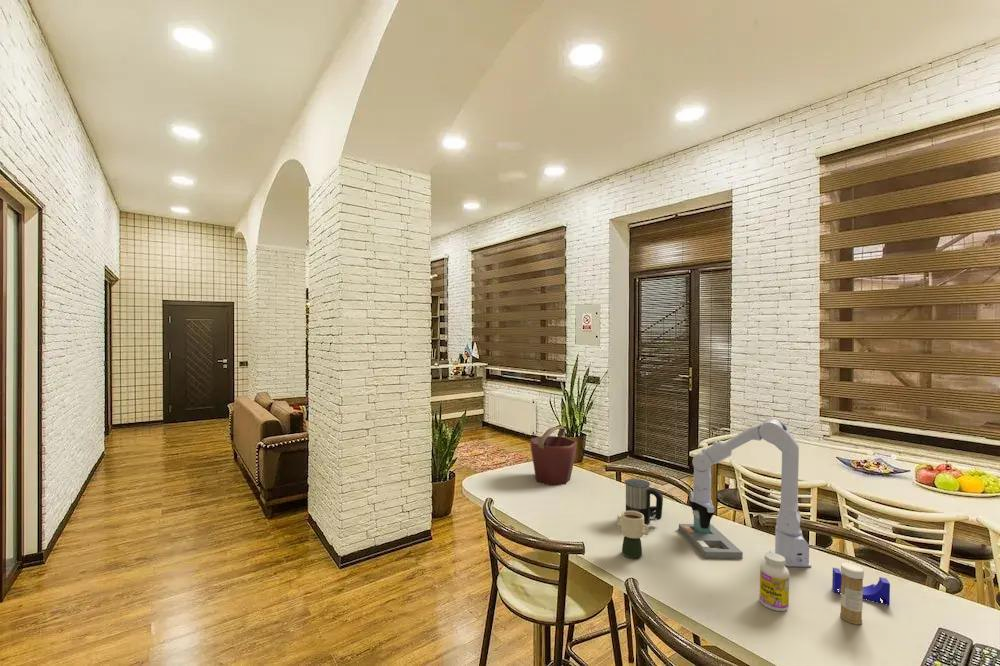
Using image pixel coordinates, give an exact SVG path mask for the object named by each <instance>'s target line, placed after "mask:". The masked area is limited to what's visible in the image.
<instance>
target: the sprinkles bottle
mask: <svg viewBox="0 0 1000 666" xmlns="http://www.w3.org/2000/svg"><path fill="white" fill-rule="evenodd" d="M840 571H841V574H842V584H841V595H840V615H839V616H840V618H841V619H843V620H844V621H845V622H848V623H849V624H852V623H853V625H861V624H863V619H862V618H863V616H862V615H863V614H862V613H863V605H864V604H863V601H864V600H863V587H864V586H863V585H864V584H863V583H864V582H863V581H864V578H865V572H864V571H865V570H864V569H863V568H862V567H861V566H859V565H857V564H854V563H849V562H842V563H841V564H840Z"/></svg>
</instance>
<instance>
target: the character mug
mask: <svg viewBox="0 0 1000 666" xmlns="http://www.w3.org/2000/svg"><path fill="white" fill-rule="evenodd" d="M620 514H621V515H617V518H616V519H617V522H616V523H617V526H619V527H620V532H621V534H622V535H623V536H624V537H623V541H622V547H621V552H622V554H623V556H625V557H627V558H639V557H641V556H643V548H642V540H641V538H642V537H643V536H649V529H650V528H649V524H648V525H646V524H644V515H643V514H642V513H639V512H636V511H626V510H624V511H622V512H621V513H620Z"/></svg>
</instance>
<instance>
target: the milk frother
mask: <svg viewBox="0 0 1000 666" xmlns="http://www.w3.org/2000/svg"><path fill="white" fill-rule="evenodd" d="M624 483H625V511H636V512H639V513H642V514H643V515H644V524H646V525H648V526H649V524H651V520H650V519H651V518H652V517H654V516H655V520H657V521H659V520H661V519H662V515H663V504H664V498H663V494H662V492H661V491H660V490H658V488H655V487H650V485H651V483H650V482H649V481H647V480H646V479H641V478H629V479H626V480H624ZM651 495H652V496H654V497H655V499H656V502H655V506H654V505H652V506H651Z"/></svg>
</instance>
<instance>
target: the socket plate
mask: <svg viewBox="0 0 1000 666" xmlns="http://www.w3.org/2000/svg"><path fill="white" fill-rule="evenodd" d="M678 530H679V532H680V533H681V534H682V535H683V534H684V535H685V536H684V535H683V536H684V537H685V538H686V539H687V541H689V542H690V544H692V546H693V547H694V548H695V549H696V550H697V551H698V552H699V553H700V555H702V557H704V559H738V558H742V559H743V557H744V556H743V551H742V550H740V548H738V546H737V545H735V544H734V542H732V541H731V540H729V538H727V536H725V535H724V534H723V533H722V532H721V531H720V530H718V528H716V527H715V526H714V525H713V524H712V523H710V534H697V533H696V532H695V531H694V523H678ZM718 546H721V548H711V547H718Z"/></svg>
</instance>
